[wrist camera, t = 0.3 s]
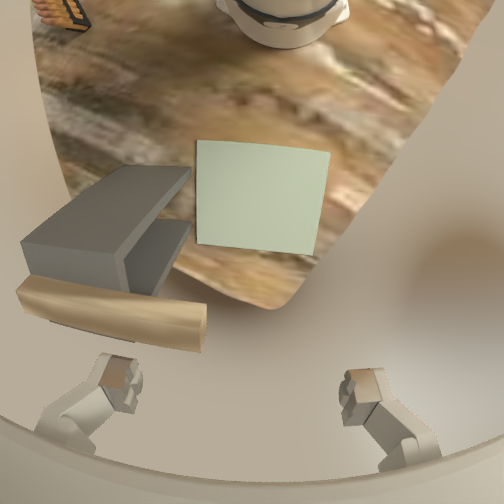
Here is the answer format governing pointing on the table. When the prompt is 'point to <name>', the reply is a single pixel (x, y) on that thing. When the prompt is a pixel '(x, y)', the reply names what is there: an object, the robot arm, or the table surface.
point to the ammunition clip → (63, 14)
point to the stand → (113, 233)
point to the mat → (259, 195)
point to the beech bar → (116, 313)
